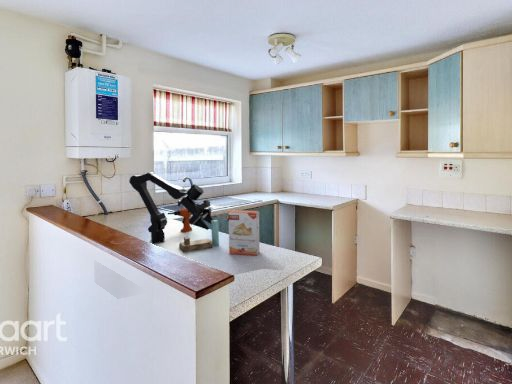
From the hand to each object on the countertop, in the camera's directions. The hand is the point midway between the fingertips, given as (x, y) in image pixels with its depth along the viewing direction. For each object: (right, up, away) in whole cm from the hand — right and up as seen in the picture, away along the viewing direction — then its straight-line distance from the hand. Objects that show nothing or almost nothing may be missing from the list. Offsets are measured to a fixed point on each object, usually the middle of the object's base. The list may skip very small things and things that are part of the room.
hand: (211, 227), depth 171 cm
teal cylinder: (+2, -9, +1) cm, 10 cm away
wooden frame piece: (-8, -10, -4) cm, 13 cm away
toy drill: (-22, -6, +27) cm, 35 cm away
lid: (-7, -8, -4) cm, 11 cm away
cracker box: (+18, -11, -13) cm, 25 cm away
